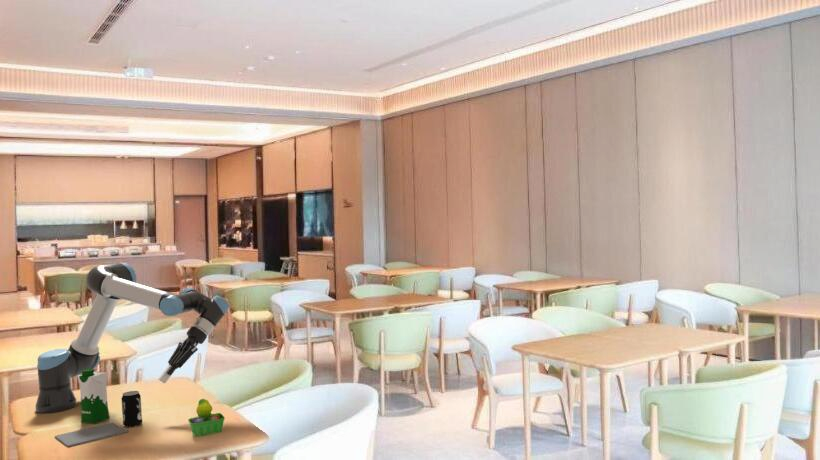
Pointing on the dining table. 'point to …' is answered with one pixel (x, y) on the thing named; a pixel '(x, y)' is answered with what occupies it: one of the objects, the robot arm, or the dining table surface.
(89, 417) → the milk carton
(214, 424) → the fruit basket
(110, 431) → the mat
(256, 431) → the dining table surface
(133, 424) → the beverage can
